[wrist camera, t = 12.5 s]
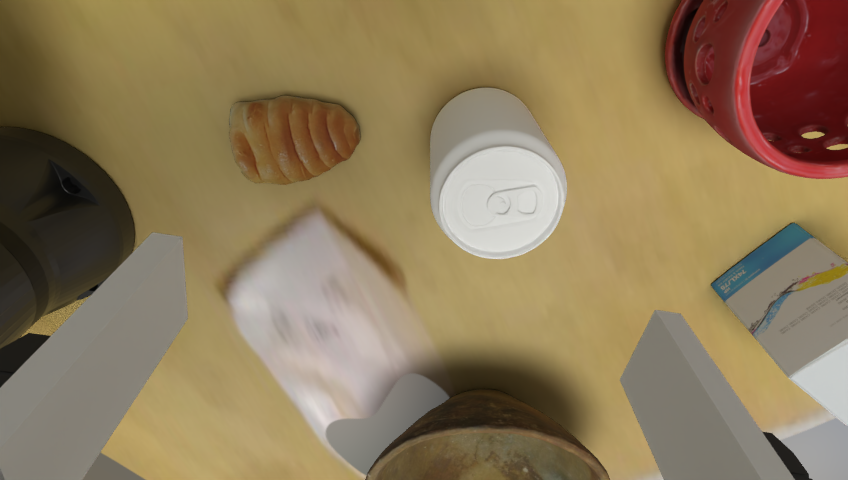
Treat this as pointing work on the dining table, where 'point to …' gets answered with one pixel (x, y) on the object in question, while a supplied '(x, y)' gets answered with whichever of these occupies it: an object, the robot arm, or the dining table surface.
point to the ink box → (796, 311)
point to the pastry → (290, 138)
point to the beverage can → (494, 175)
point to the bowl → (486, 444)
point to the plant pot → (767, 78)
